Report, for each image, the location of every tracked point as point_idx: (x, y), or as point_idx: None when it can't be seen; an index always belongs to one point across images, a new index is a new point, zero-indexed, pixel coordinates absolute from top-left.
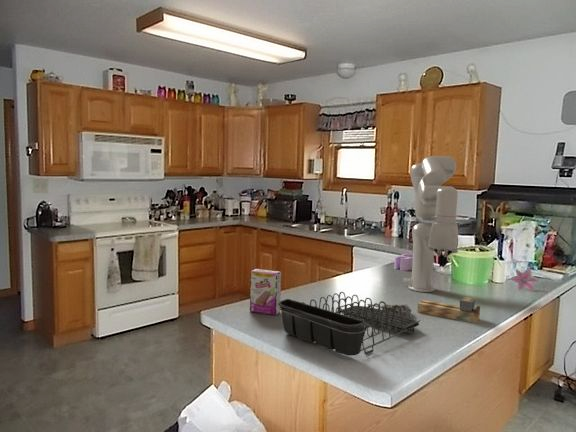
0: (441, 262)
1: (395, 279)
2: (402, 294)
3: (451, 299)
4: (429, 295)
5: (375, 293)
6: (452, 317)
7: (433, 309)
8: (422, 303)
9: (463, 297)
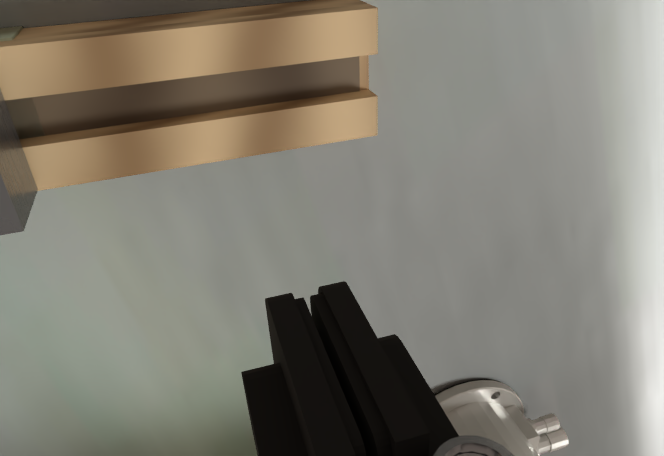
0: (333, 347)
1: (585, 452)
2: (520, 286)
3: None
4: None
5: (654, 194)
6: (61, 25)
7: (235, 15)
8: (346, 32)
9: (11, 222)
